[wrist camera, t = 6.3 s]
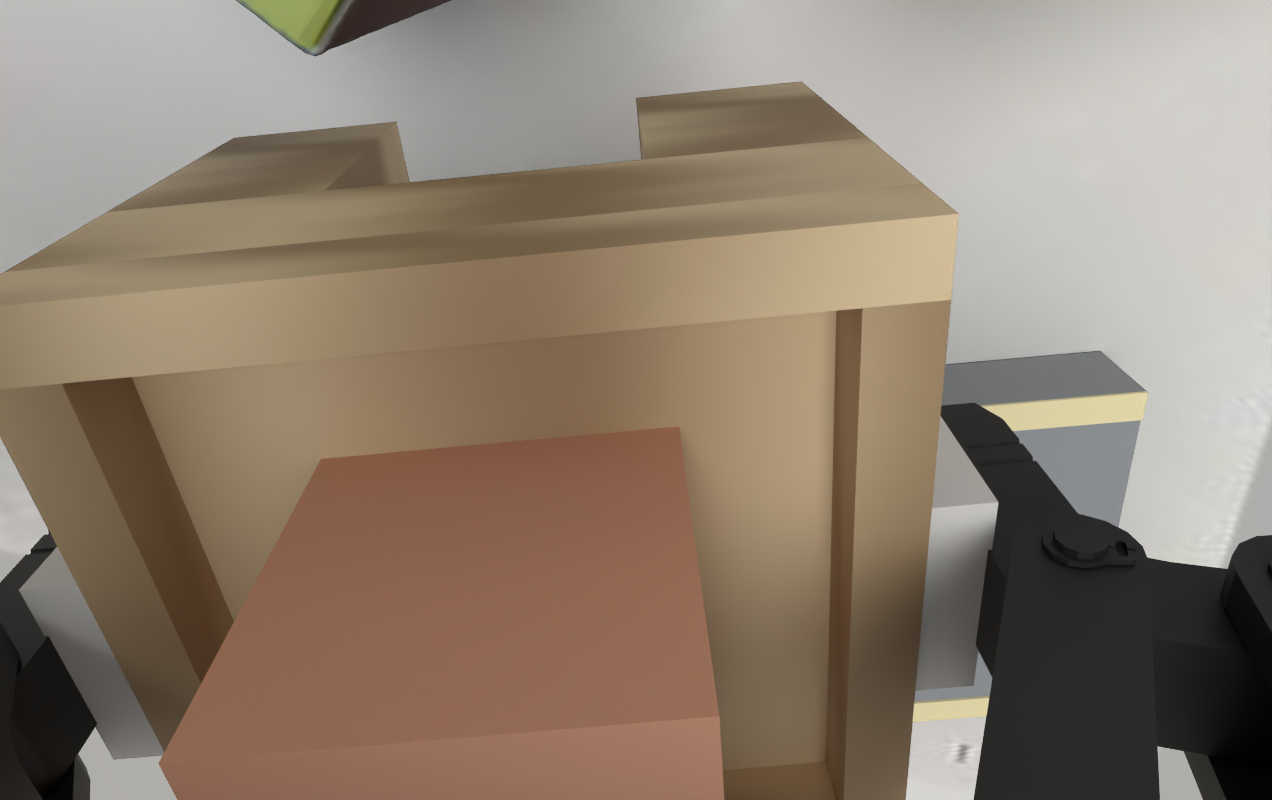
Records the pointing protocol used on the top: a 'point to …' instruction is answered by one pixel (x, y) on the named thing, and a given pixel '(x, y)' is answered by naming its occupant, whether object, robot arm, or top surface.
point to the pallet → (518, 386)
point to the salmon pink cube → (470, 635)
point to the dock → (1050, 453)
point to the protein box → (332, 19)
